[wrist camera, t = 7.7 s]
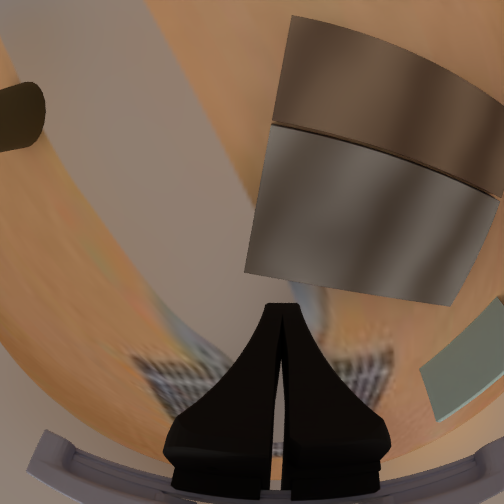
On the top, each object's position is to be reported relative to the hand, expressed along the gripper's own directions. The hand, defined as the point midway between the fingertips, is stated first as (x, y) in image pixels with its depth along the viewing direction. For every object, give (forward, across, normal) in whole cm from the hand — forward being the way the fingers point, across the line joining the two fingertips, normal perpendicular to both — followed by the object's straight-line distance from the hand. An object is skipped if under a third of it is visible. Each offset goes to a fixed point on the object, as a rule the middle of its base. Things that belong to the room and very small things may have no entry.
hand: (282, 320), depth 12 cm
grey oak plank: (+8, -8, -5) cm, 12 cm away
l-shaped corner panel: (+10, -24, +15) cm, 30 cm away
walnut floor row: (+9, -9, -9) cm, 16 cm away
